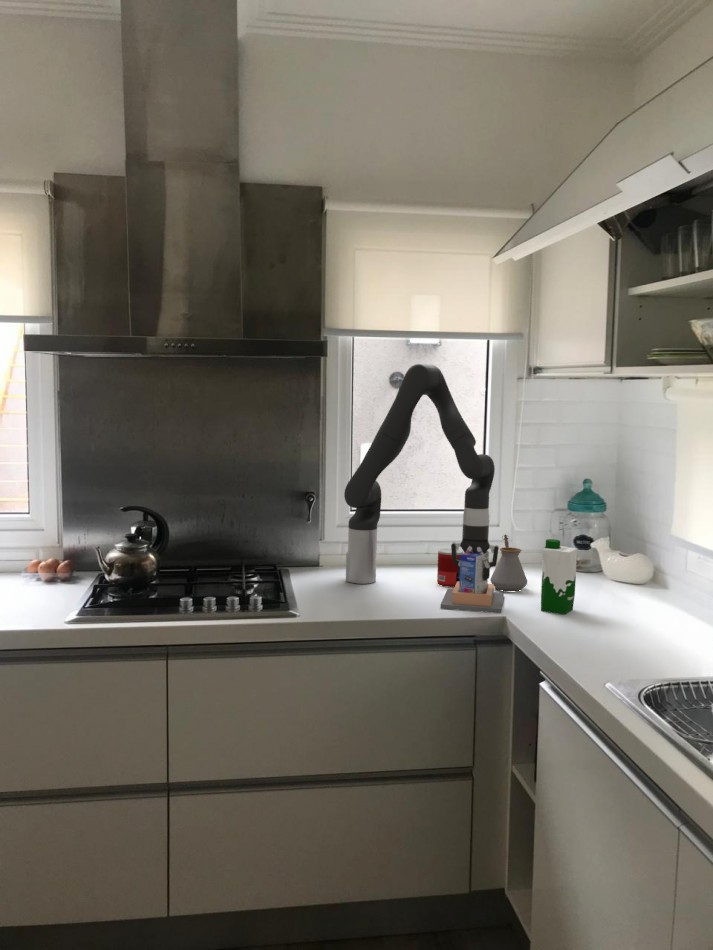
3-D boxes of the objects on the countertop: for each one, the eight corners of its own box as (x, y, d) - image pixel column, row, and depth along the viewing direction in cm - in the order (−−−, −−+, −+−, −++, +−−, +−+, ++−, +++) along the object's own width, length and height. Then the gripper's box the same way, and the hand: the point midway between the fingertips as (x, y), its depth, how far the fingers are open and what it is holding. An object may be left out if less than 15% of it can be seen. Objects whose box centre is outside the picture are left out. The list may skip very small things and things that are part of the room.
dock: (440, 608, 237) (440, 594, 236) (447, 592, 256) (448, 579, 256) (500, 613, 233) (501, 598, 233) (503, 596, 253) (504, 582, 252)
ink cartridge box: (470, 588, 250) (473, 540, 248) (487, 591, 247) (491, 543, 246) (457, 594, 242) (460, 545, 240) (474, 598, 239) (478, 548, 237)
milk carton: (546, 604, 244) (549, 537, 242) (577, 609, 239) (580, 540, 237) (536, 611, 236) (539, 541, 234) (568, 616, 232) (571, 545, 230)
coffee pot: (529, 594, 256) (531, 546, 255) (491, 592, 257) (493, 545, 255) (521, 579, 277) (523, 534, 276) (486, 577, 278) (488, 533, 277)
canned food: (461, 588, 262) (462, 553, 261) (436, 586, 264) (437, 552, 263) (462, 582, 270) (463, 549, 269) (437, 581, 271) (438, 547, 270)
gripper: (449, 523, 240) (447, 580, 242) (500, 526, 237) (497, 583, 239) (452, 519, 247) (450, 575, 249) (501, 522, 244) (499, 578, 246)
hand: (473, 579), depth 244 cm, fingers closed on ink cartridge box, 6 cm apart
